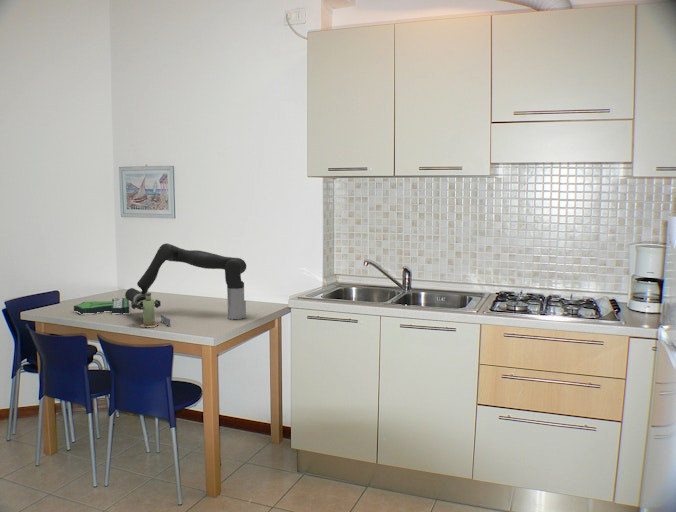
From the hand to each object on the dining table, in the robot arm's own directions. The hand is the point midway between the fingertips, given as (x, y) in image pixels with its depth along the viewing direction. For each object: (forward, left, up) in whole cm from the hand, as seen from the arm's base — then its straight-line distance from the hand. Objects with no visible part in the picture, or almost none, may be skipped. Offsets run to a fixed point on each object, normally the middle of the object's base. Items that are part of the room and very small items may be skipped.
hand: (149, 306), depth 293 cm
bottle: (0, -2, -10) cm, 10 cm away
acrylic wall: (-8, -1, -10) cm, 14 cm away
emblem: (+15, -54, -11) cm, 57 cm away
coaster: (0, -1, -10) cm, 11 cm away
